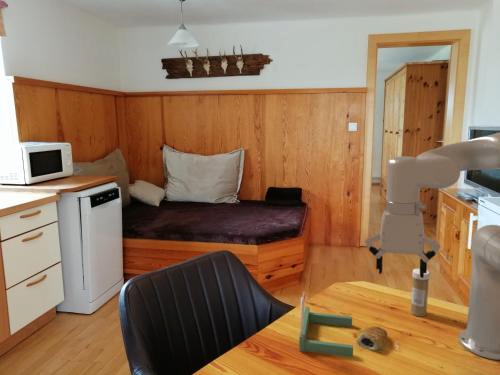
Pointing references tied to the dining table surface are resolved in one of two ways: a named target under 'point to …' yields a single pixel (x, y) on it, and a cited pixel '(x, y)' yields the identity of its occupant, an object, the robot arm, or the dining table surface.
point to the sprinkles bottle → (419, 293)
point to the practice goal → (319, 345)
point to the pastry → (372, 338)
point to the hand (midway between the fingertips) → (400, 273)
